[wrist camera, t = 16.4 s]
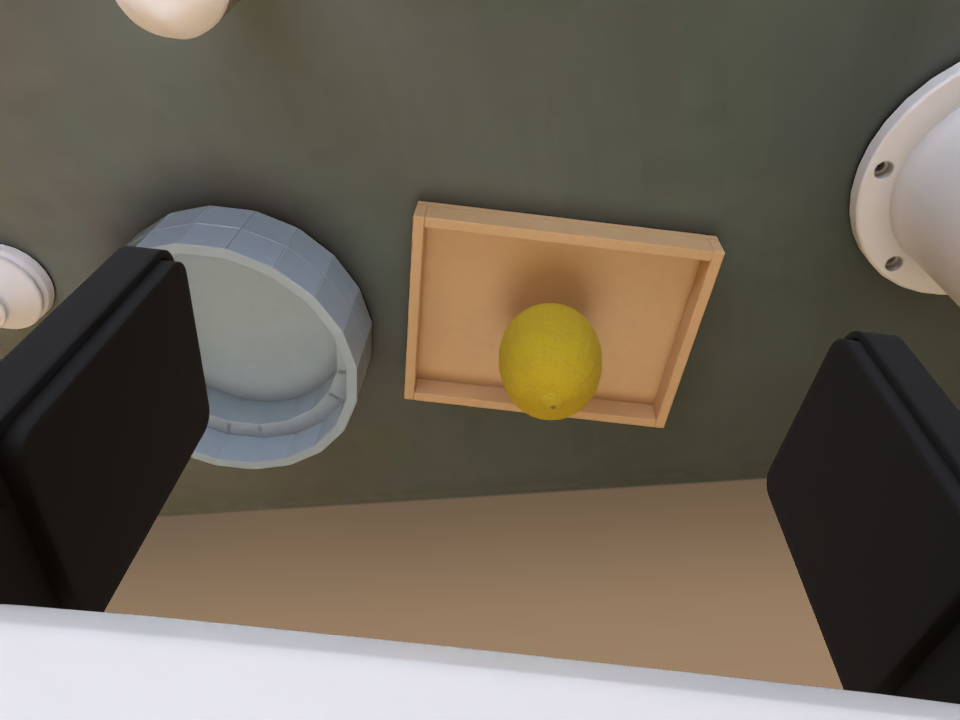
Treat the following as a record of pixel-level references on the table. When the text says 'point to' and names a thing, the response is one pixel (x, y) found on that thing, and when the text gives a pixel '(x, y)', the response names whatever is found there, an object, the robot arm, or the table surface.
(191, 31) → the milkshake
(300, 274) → the bowl
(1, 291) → the chess pawn
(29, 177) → the table surface
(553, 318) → the lemon
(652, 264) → the tray
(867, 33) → the table surface
